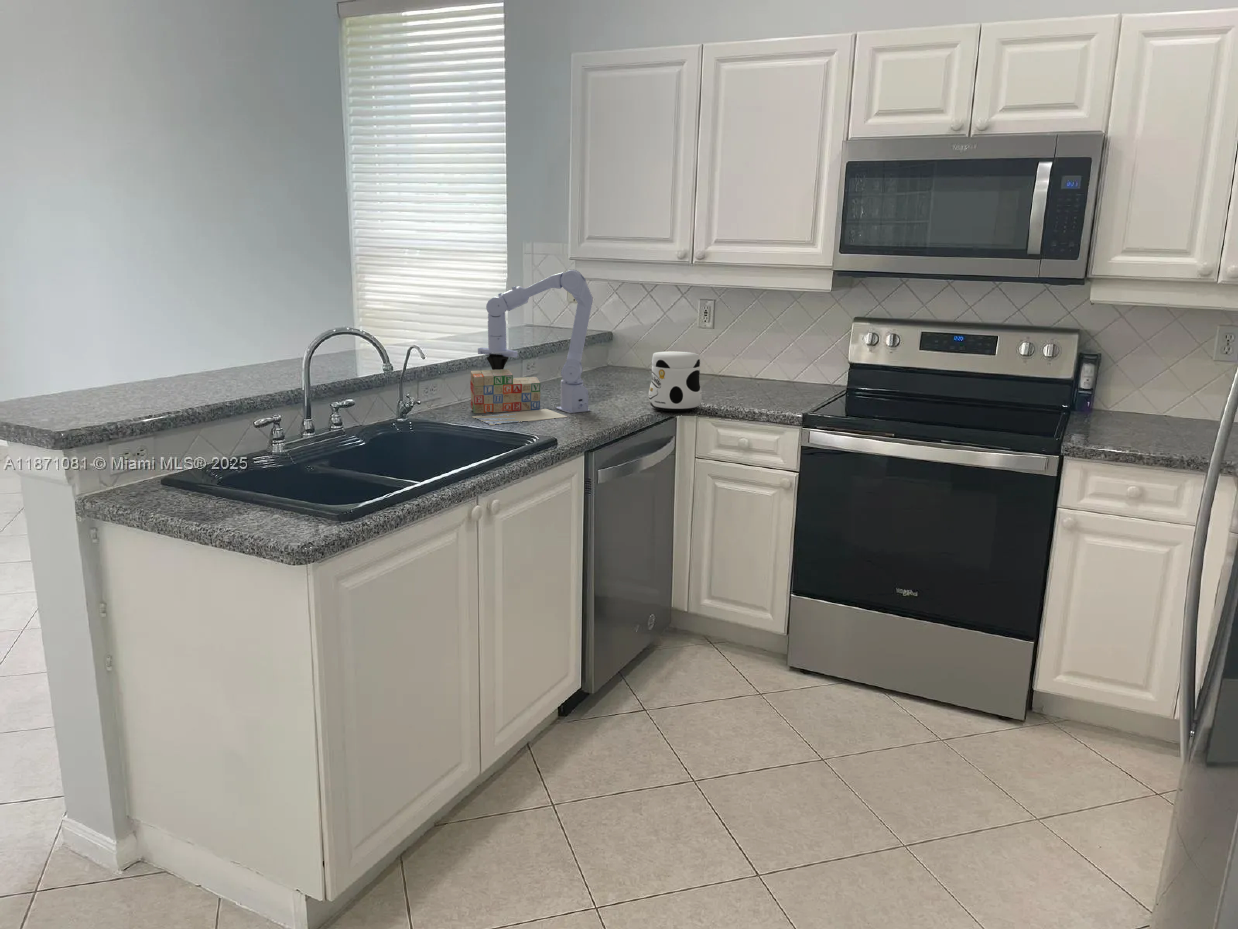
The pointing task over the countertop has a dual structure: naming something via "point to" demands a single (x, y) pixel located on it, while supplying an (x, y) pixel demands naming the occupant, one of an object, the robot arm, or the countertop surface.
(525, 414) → the mat
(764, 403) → the countertop surface
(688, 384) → the milk container
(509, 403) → the stack of blocks
